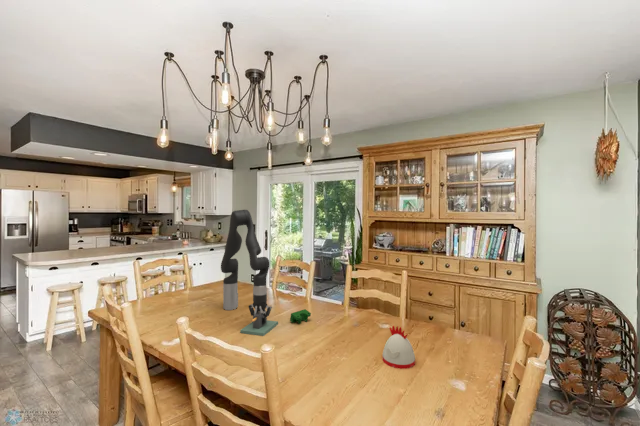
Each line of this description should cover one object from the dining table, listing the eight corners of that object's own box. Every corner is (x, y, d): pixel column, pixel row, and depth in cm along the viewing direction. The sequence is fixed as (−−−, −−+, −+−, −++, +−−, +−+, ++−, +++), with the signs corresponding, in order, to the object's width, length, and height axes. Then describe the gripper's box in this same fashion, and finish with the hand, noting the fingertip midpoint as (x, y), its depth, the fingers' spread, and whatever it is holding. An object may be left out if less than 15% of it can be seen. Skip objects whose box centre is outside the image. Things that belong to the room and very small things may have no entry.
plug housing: (260, 322, 177) (260, 310, 177) (266, 323, 176) (266, 311, 176) (249, 330, 165) (249, 317, 165) (255, 331, 164) (255, 318, 164)
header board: (256, 321, 183) (256, 312, 183) (278, 324, 179) (278, 314, 179) (240, 332, 166) (240, 322, 166) (263, 336, 162) (263, 325, 162)
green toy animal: (297, 331, 180) (295, 320, 176) (291, 326, 184) (288, 315, 180) (312, 319, 187) (310, 308, 182) (306, 314, 191) (304, 303, 187)
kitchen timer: (391, 350, 146) (391, 319, 146) (419, 359, 137) (420, 325, 137) (376, 361, 135) (377, 327, 135) (406, 372, 126) (407, 335, 126)
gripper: (274, 292, 174) (274, 322, 174) (252, 290, 178) (252, 320, 178) (268, 295, 167) (268, 327, 167) (245, 293, 171) (245, 324, 171)
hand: (260, 323), depth 173 cm, fingers closed on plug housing, 3 cm apart
